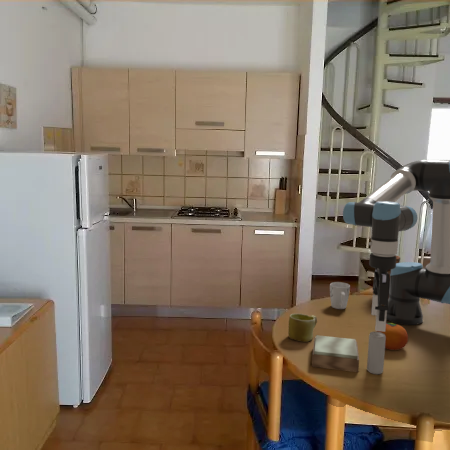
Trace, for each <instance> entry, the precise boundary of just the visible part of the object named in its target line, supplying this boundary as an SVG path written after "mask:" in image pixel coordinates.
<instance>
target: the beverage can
mask: <svg viewBox="0 0 450 450" xmlns="http://www.w3.org/2000/svg"><path fill="white" fill-rule="evenodd" d="M385 340H386V337H385V334H383V333H381V332H376V331H370V332H369V335H368V346H367V360H366V361H367V362H366V363H367V364H366V370H367V371H368V372H369V373H370V374H372V375H381V374H383V372H384V363H385V353H386V352H385V351H386V348H385Z"/></svg>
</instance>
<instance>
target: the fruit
mask: <svg viewBox="0 0 450 450" xmlns="http://www.w3.org/2000/svg"><path fill="white" fill-rule="evenodd" d="M375 332H381V333H383V334H385V337H386V340H385V350H389V351H390V350H391V351H399V350H401V349H404V348H405V347H406V346H407V344H408V341H409V335H408V332H407V330H406V329H405V327H403V326H401V324H397V323H394V322H388V323H387V322H386V329H385V332H383V331H375Z"/></svg>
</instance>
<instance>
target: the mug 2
mask: <svg viewBox="0 0 450 450" xmlns="http://www.w3.org/2000/svg"><path fill="white" fill-rule="evenodd" d="M350 289H351V285H350V284H349V283H346V282H341V281H334V282H331V283H330V284H329V295H330V296H329V297H330V298H329V299H330V304H331V308H332V309H333V308H334V309H336V310H344V309H346V308H347V306H348V301H349V297H350V291H351V290H350Z"/></svg>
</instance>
